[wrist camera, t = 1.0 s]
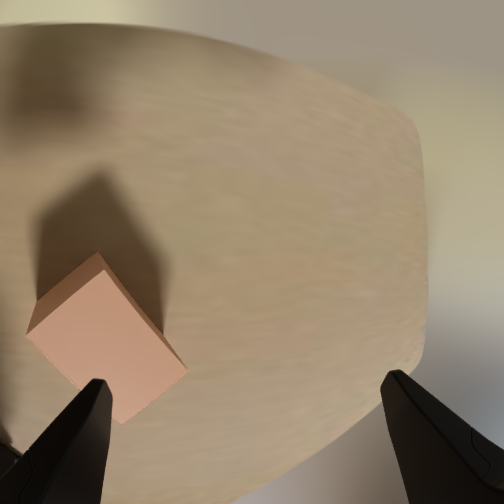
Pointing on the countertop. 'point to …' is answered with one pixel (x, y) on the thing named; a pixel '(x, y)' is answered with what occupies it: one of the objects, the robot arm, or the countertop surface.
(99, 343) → the brick
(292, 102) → the countertop surface
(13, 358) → the countertop surface
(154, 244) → the countertop surface
